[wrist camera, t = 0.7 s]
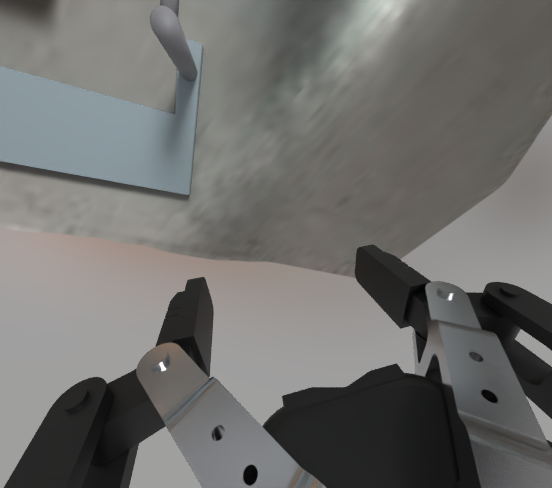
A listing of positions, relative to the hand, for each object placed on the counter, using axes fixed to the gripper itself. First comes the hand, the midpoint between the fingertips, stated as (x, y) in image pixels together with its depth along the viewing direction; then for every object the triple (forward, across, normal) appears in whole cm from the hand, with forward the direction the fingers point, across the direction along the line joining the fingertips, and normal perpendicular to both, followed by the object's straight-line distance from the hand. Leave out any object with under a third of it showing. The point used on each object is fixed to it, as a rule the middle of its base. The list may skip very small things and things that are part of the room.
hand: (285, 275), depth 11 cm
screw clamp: (+27, +16, -13) cm, 34 cm away
